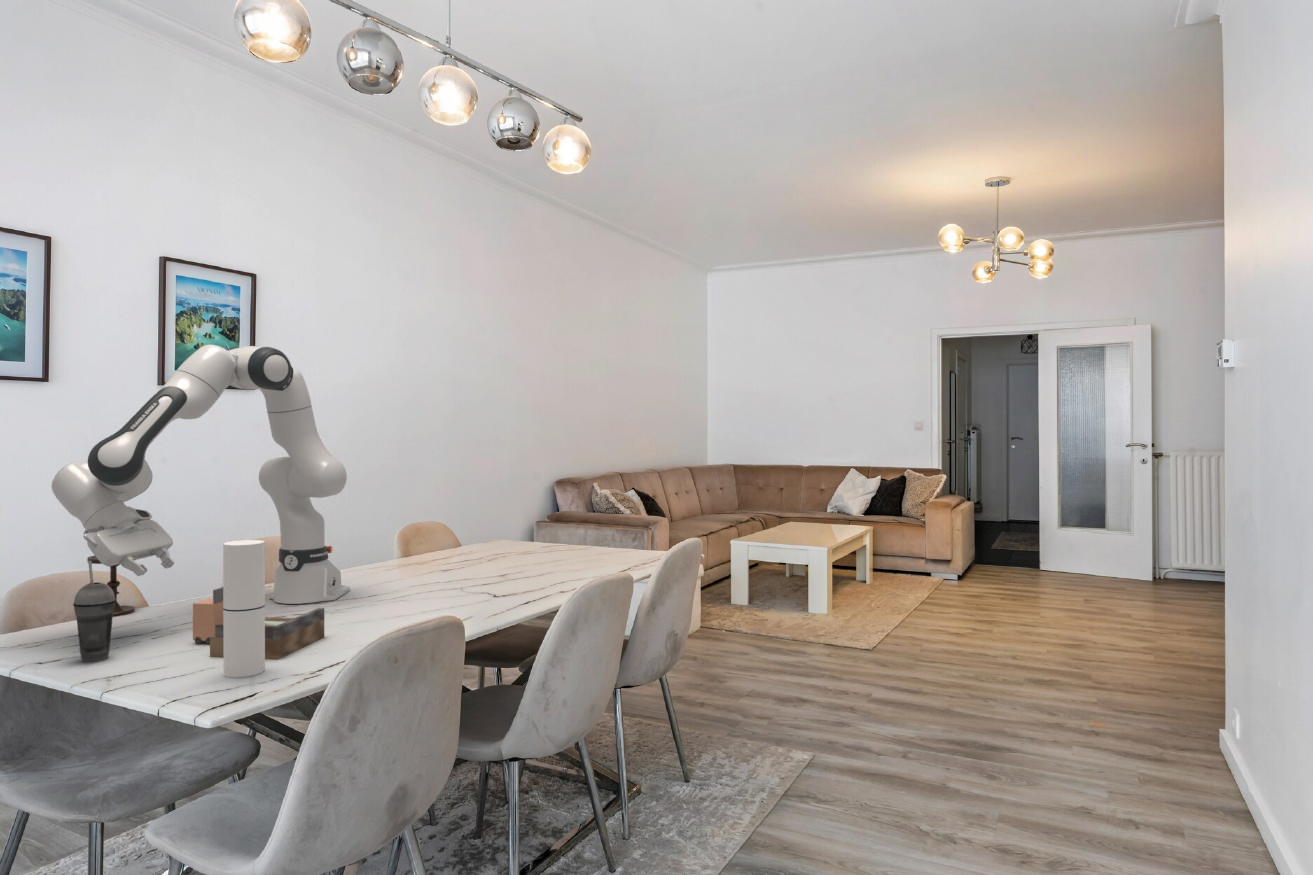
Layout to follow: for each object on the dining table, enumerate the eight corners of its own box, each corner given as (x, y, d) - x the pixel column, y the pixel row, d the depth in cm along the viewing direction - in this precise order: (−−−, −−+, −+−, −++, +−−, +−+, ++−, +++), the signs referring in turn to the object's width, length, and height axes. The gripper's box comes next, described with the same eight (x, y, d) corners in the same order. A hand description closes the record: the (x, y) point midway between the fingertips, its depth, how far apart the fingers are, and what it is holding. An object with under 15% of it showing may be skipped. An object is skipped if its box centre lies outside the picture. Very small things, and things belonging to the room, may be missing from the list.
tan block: (208, 637, 183) (207, 585, 183) (228, 638, 182) (228, 585, 182) (192, 643, 178) (192, 589, 178) (214, 644, 178) (214, 590, 177)
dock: (262, 634, 186) (261, 605, 186) (324, 636, 185) (324, 607, 185) (209, 656, 168) (209, 624, 168) (278, 659, 167) (278, 627, 167)
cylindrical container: (221, 679, 153) (221, 546, 153) (225, 668, 160) (224, 541, 160) (264, 674, 156) (264, 544, 156) (265, 664, 163) (265, 539, 162)
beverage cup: (94, 665, 162) (94, 564, 161) (63, 663, 163) (63, 563, 163) (125, 655, 169) (125, 558, 169) (95, 653, 170) (95, 557, 170)
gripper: (89, 520, 170) (135, 567, 170) (152, 510, 191) (194, 552, 190) (68, 541, 170) (114, 589, 170) (134, 529, 191) (175, 571, 191)
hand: (157, 569), depth 180 cm, fingers open, 8 cm apart
